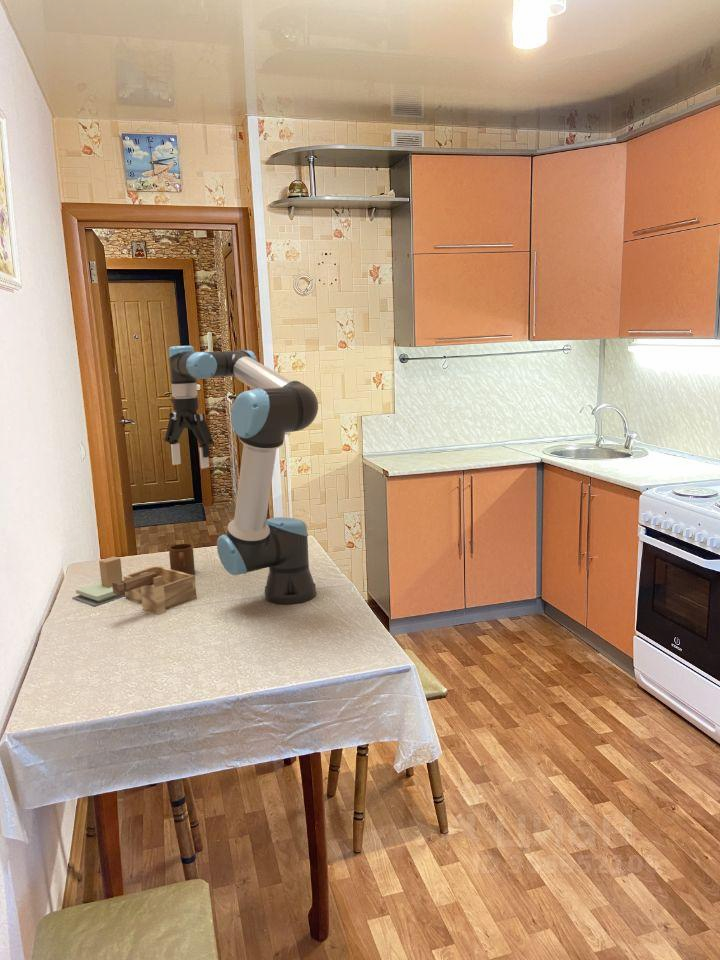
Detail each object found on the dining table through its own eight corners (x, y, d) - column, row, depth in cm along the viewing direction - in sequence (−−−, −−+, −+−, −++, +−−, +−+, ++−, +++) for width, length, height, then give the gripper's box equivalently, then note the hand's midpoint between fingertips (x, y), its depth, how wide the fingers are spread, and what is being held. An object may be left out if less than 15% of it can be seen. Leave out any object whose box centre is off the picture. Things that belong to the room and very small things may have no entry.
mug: (195, 580, 227) (193, 552, 225) (171, 583, 225) (168, 554, 223) (194, 569, 238) (192, 542, 236) (171, 572, 236) (168, 544, 235)
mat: (152, 586, 222) (152, 585, 222) (94, 606, 207) (94, 605, 207) (129, 580, 230) (129, 578, 230) (72, 598, 214) (71, 597, 214)
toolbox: (199, 598, 210) (196, 564, 208) (158, 614, 199) (155, 578, 197) (159, 587, 222) (156, 554, 220) (118, 601, 211) (114, 567, 209)
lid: (97, 603, 208) (94, 570, 206) (76, 596, 215) (72, 564, 213) (148, 586, 222) (145, 555, 220) (127, 580, 228) (124, 549, 226)
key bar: (158, 582, 200) (157, 572, 200) (120, 595, 191) (119, 584, 190) (150, 580, 203) (149, 570, 202) (113, 593, 193) (112, 582, 193)
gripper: (222, 397, 212) (227, 467, 216) (169, 395, 227) (175, 461, 232) (202, 399, 207) (207, 471, 211) (149, 397, 222) (155, 464, 226)
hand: (190, 466), depth 221 cm, fingers open, 13 cm apart
